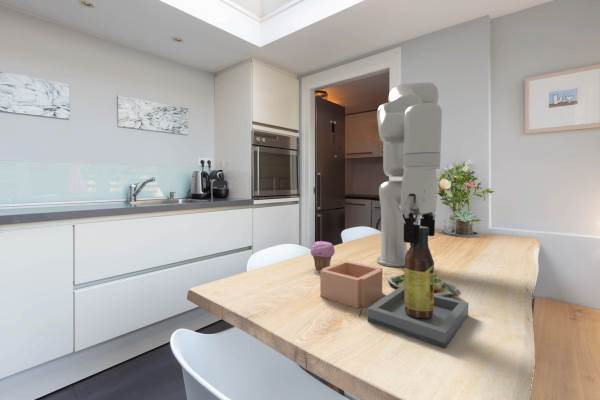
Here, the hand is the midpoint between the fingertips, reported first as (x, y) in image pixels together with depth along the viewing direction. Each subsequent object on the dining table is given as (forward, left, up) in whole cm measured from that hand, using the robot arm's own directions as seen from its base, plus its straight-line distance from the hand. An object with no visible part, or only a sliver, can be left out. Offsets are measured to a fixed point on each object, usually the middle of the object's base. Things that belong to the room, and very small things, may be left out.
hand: (419, 238), depth 65 cm
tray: (+1, 0, -18) cm, 18 cm away
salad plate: (-20, -7, -19) cm, 28 cm away
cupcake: (-15, -40, -18) cm, 46 cm away
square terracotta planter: (-1, -19, -18) cm, 26 cm away
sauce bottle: (0, 0, -17) cm, 17 cm away
